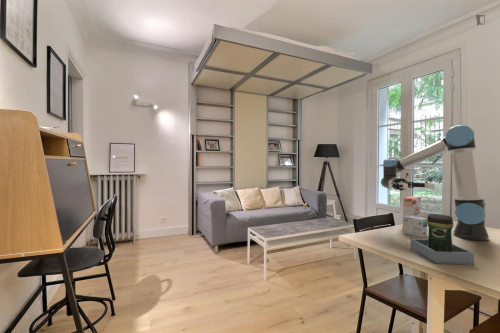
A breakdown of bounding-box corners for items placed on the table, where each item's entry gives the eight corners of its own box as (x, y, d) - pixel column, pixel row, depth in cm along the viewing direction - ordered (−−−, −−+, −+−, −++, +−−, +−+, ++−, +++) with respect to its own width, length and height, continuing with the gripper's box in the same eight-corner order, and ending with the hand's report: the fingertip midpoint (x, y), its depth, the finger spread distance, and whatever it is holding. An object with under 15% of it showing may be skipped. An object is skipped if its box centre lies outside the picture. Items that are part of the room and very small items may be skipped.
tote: (443, 249, 118) (443, 239, 118) (473, 264, 100) (474, 253, 100) (410, 248, 119) (410, 238, 119) (435, 263, 101) (435, 251, 101)
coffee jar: (454, 255, 109) (454, 214, 109) (452, 259, 103) (453, 217, 103) (428, 249, 116) (428, 211, 116) (425, 253, 110) (425, 214, 110)
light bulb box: (427, 235, 141) (428, 217, 141) (423, 237, 137) (423, 219, 137) (407, 231, 150) (408, 214, 150) (402, 233, 146) (403, 215, 146)
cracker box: (412, 231, 151) (413, 198, 151) (402, 229, 156) (402, 197, 155) (420, 227, 159) (421, 196, 159) (410, 226, 164) (410, 195, 164)
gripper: (419, 189, 147) (444, 193, 126) (377, 189, 148) (396, 193, 127) (418, 177, 147) (444, 179, 126) (377, 177, 148) (396, 179, 127)
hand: (420, 186), depth 126 cm, fingers open, 13 cm apart
